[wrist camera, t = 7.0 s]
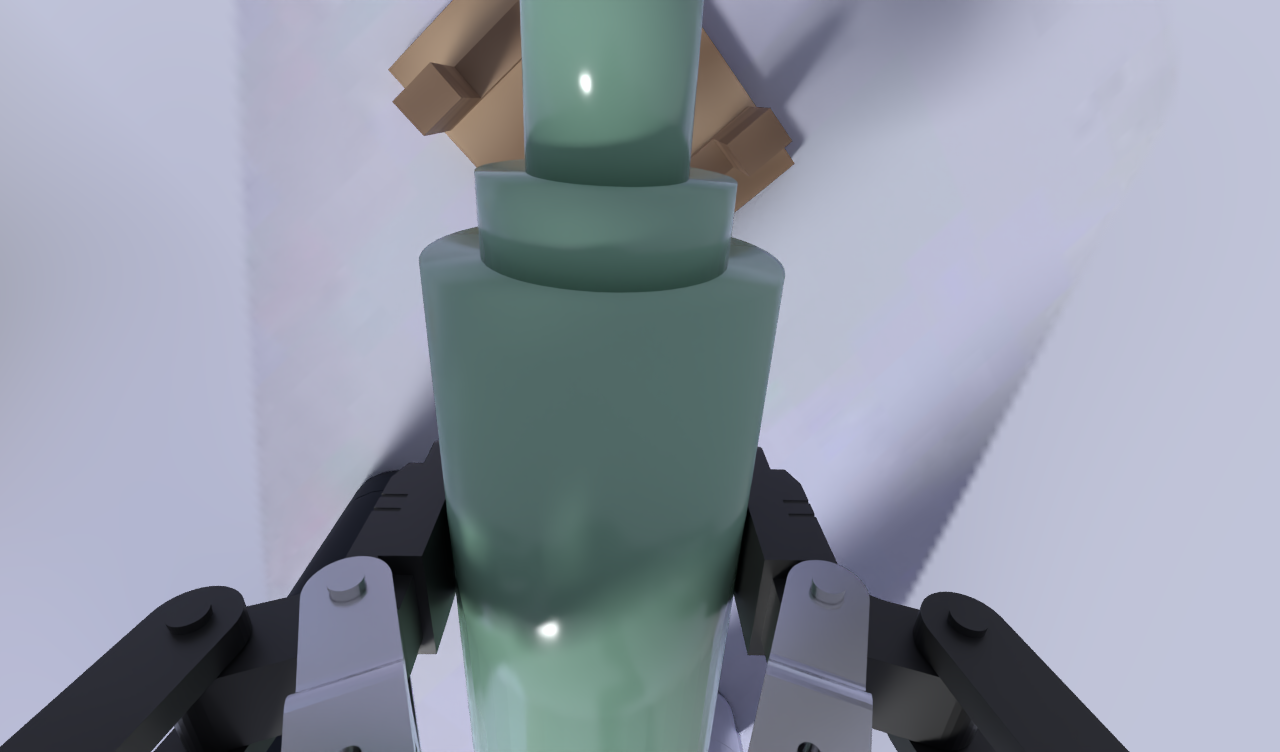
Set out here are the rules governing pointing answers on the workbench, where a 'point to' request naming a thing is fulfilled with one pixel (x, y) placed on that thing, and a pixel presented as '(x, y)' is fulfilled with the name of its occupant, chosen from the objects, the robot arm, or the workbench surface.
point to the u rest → (493, 99)
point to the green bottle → (599, 394)
